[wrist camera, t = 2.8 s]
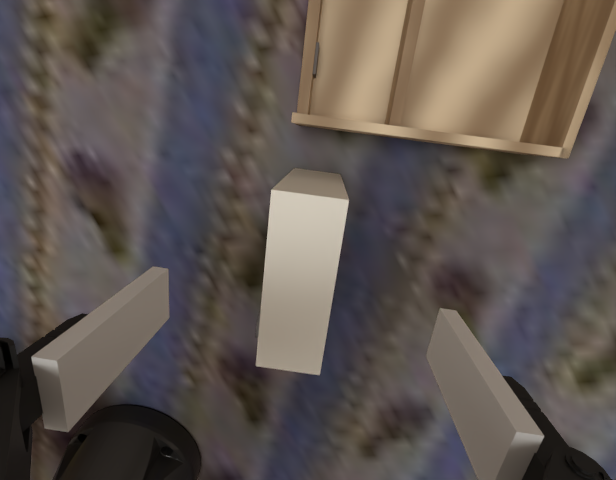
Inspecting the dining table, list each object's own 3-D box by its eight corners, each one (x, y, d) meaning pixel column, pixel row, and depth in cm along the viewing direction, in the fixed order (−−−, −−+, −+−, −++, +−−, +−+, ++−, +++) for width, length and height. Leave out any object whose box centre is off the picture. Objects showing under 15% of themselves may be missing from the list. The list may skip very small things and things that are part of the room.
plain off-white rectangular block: (279, 281, 31) (250, 365, 20) (291, 167, 28) (265, 188, 16) (322, 287, 31) (319, 375, 20) (340, 174, 28) (349, 200, 16)
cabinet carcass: (299, 125, 27) (291, 122, 21) (326, -125, 22) (326, -218, 16) (516, 153, 26) (568, 158, 21) (594, -93, 21) (691, -177, 16)
